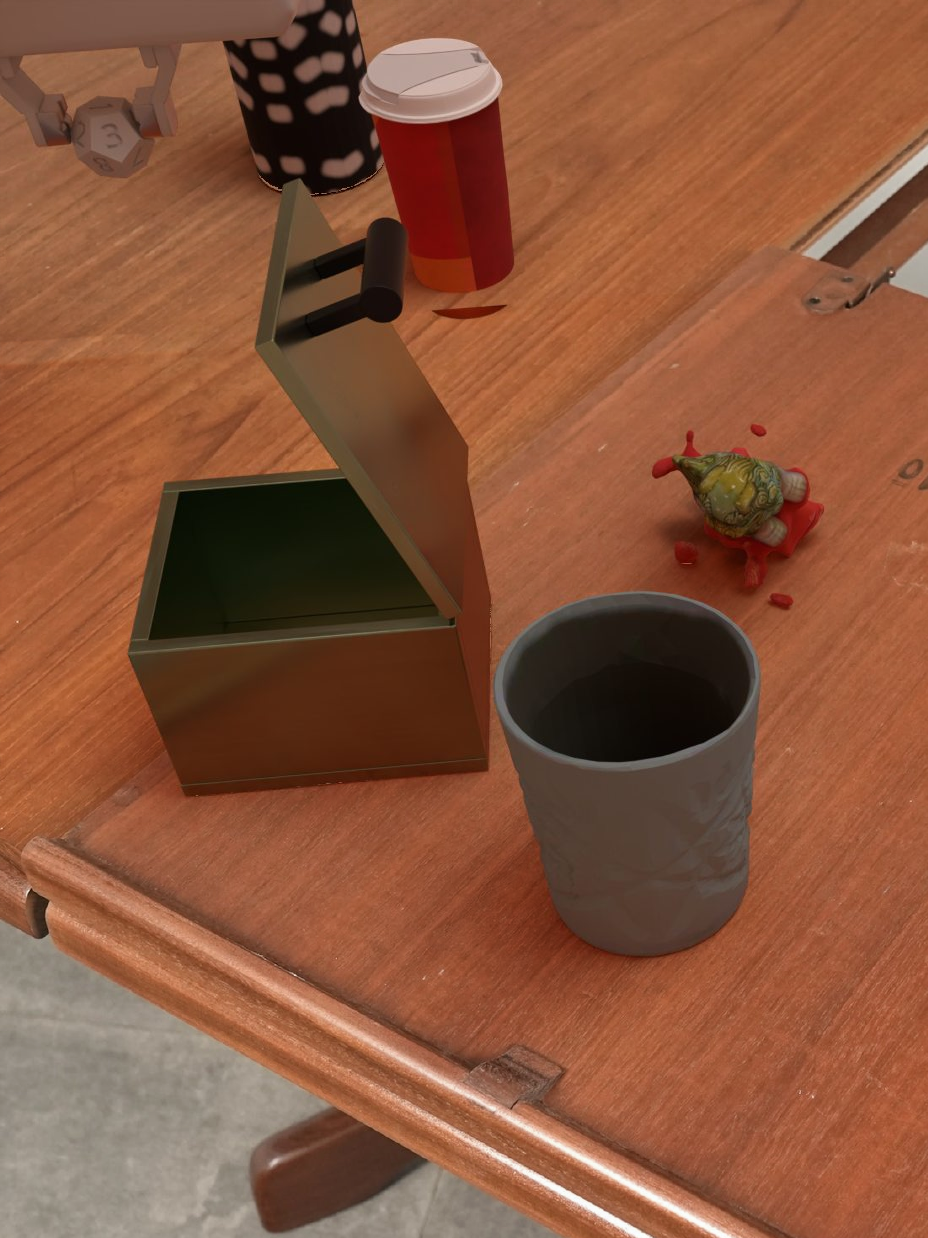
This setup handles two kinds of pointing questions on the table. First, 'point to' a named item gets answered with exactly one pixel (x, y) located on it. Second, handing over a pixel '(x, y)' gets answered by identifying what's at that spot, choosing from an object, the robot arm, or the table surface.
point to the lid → (366, 385)
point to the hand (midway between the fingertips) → (108, 136)
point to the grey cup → (635, 764)
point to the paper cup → (445, 162)
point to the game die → (109, 137)
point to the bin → (303, 641)
